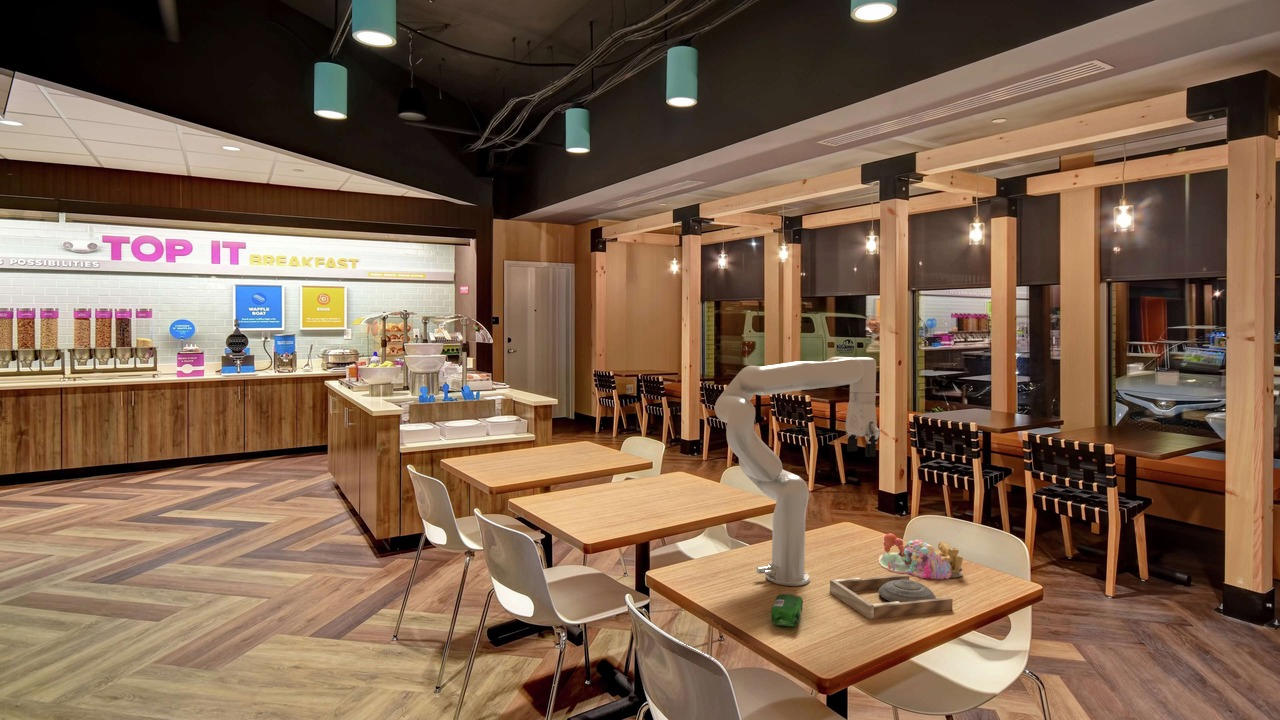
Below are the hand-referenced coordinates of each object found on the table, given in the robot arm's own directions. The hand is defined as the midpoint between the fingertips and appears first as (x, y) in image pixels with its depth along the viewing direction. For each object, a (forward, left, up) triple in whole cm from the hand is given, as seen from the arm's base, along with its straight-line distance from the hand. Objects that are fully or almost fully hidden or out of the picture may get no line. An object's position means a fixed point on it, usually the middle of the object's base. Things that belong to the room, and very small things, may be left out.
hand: (861, 453), depth 213 cm
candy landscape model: (+22, 0, -37) cm, 43 cm away
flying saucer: (+1, -22, -37) cm, 43 cm away
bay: (-4, -22, -37) cm, 43 cm away
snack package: (-38, -27, -37) cm, 59 cm away
